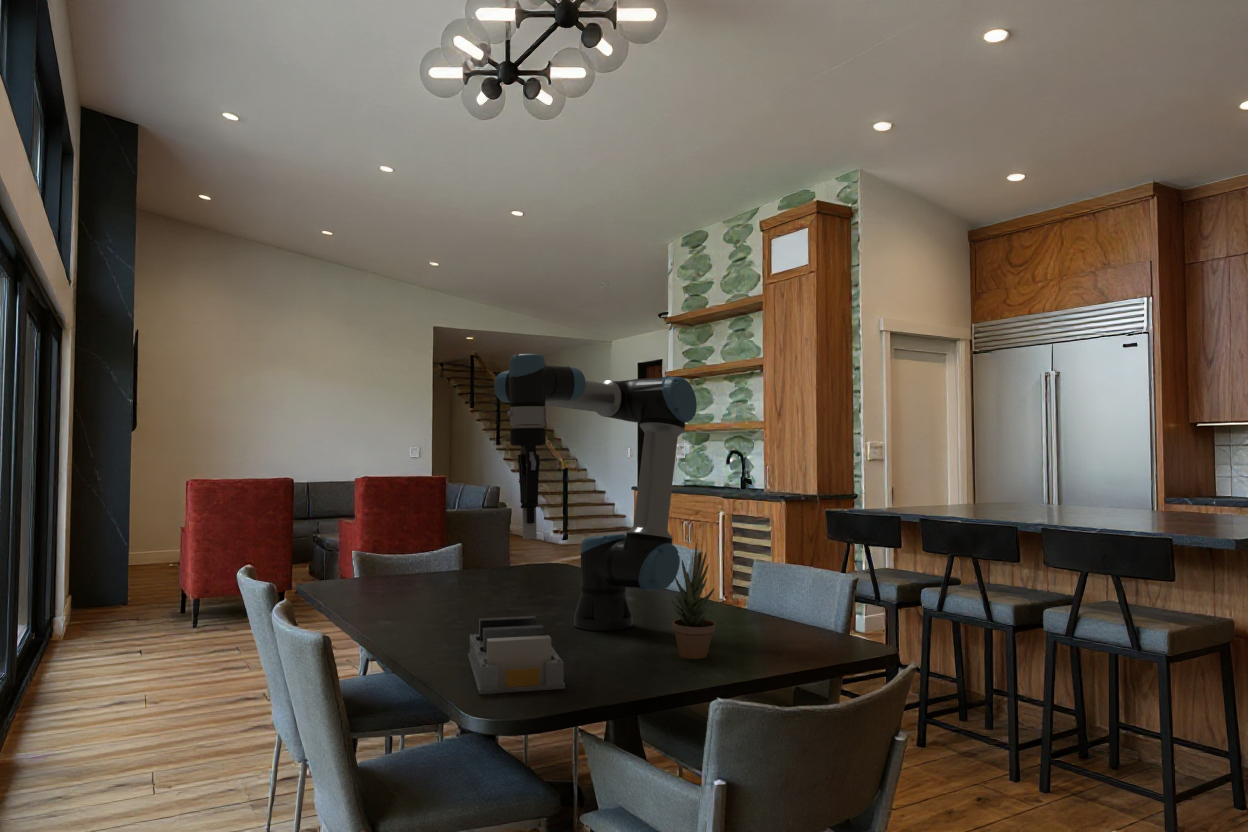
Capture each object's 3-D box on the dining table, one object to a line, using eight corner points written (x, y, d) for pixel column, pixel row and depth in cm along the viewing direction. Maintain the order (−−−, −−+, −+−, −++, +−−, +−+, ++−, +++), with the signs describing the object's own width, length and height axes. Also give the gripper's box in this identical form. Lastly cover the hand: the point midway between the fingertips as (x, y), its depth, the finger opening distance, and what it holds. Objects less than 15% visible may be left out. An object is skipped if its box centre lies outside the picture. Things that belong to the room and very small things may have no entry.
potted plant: (720, 660, 178) (720, 544, 179) (677, 662, 177) (677, 545, 178) (708, 649, 188) (708, 539, 189) (667, 650, 186) (667, 540, 188)
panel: (486, 681, 159) (486, 638, 159) (548, 676, 162) (549, 635, 162) (487, 684, 156) (488, 641, 156) (550, 680, 159) (551, 638, 159)
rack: (468, 656, 181) (468, 615, 181) (541, 652, 185) (541, 612, 185) (479, 695, 152) (479, 646, 152) (565, 689, 156) (565, 641, 156)
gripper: (505, 427, 182) (507, 535, 181) (515, 427, 169) (516, 543, 169) (539, 427, 184) (541, 534, 183) (551, 426, 171) (553, 541, 171)
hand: (529, 538), depth 176 cm, fingers closed
